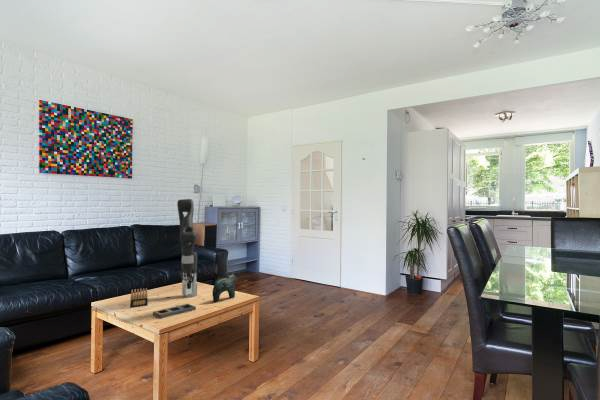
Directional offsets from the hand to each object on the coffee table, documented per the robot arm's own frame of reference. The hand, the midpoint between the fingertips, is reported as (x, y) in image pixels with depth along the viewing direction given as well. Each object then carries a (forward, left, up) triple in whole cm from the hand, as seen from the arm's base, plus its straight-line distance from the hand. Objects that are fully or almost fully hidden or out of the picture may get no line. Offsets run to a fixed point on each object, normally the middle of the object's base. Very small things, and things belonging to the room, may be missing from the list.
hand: (187, 287), depth 221 cm
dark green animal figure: (-32, -1, -14) cm, 35 cm away
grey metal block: (0, 0, -4) cm, 4 cm away
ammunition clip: (+18, -29, -14) cm, 37 cm away
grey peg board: (+8, 0, -14) cm, 16 cm away
